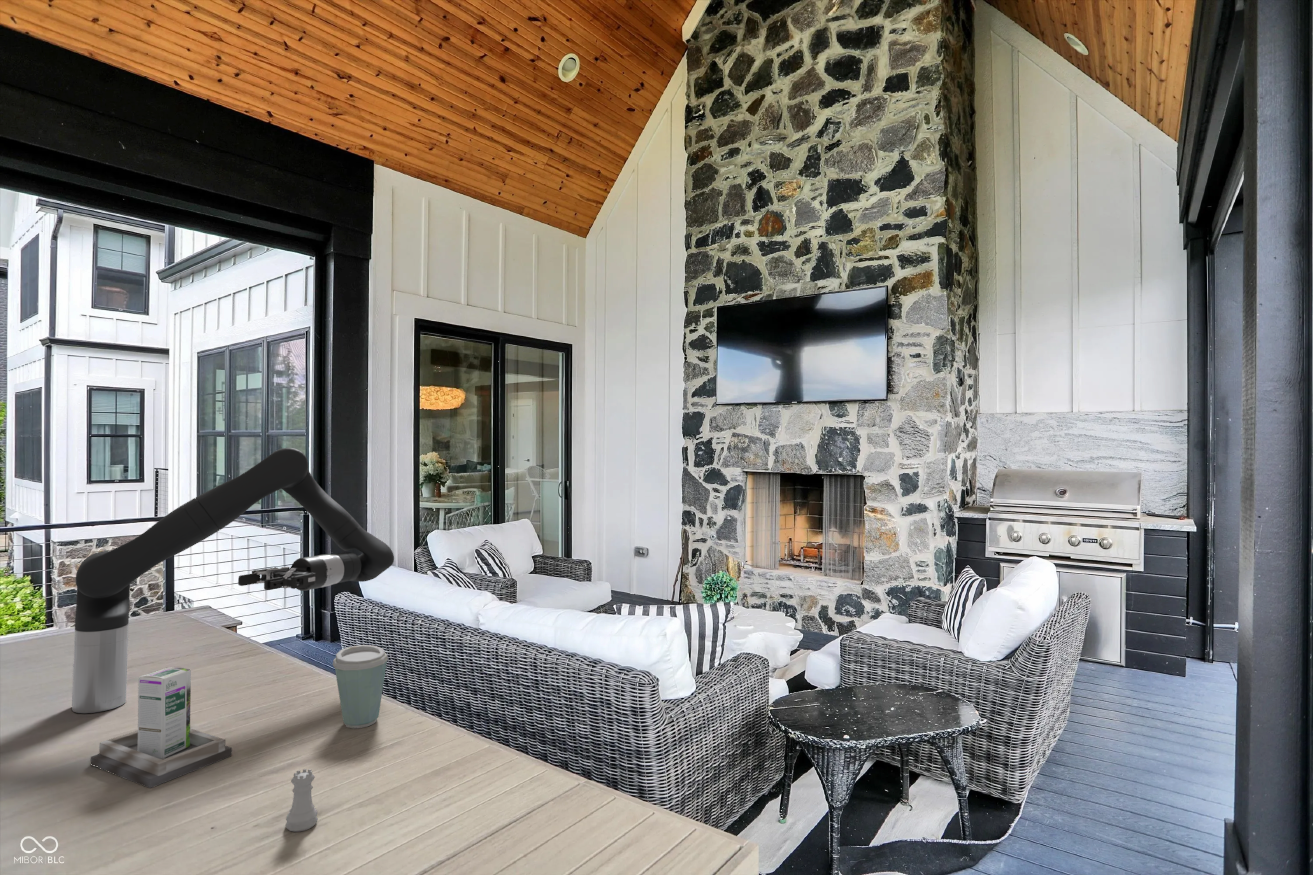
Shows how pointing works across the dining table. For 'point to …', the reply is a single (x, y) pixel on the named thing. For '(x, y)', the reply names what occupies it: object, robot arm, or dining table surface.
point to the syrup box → (164, 712)
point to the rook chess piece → (302, 803)
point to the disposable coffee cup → (360, 683)
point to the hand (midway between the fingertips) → (252, 583)
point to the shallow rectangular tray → (153, 771)
